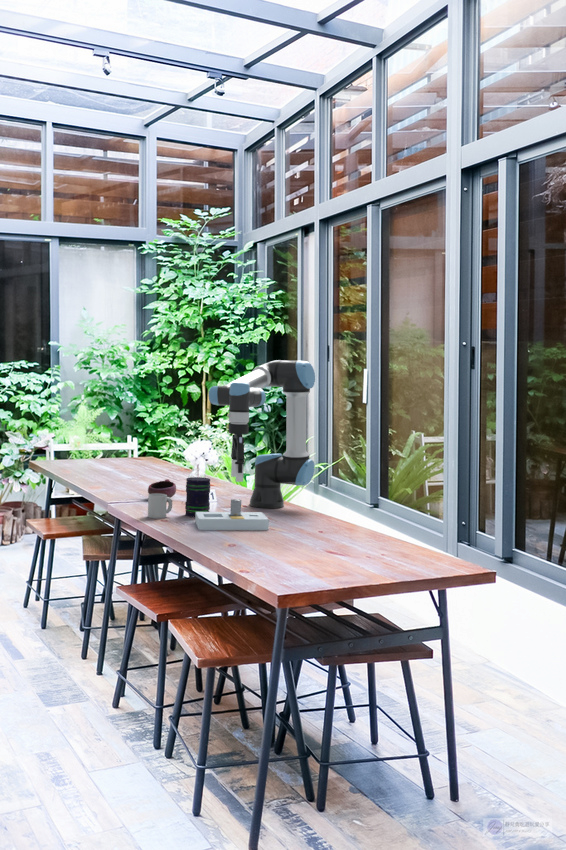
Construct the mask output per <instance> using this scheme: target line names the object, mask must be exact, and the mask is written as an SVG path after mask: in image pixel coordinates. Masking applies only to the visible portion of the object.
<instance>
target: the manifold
mask: <svg viewBox="0 0 566 850" xmlns="http://www.w3.org/2000/svg"><path fill="white" fill-rule="evenodd" d="M194 522H195V525H196V527H197V529H198V530H199V531H269V522H270V519H269V518H268V517H267V516H266V515H265V513H264V512H262V511H255V512H254V511H241V516H230V511H209V512H196V514H195V517H194Z"/></svg>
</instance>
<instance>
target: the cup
mask: <svg viewBox="0 0 566 850" xmlns="http://www.w3.org/2000/svg"><path fill="white" fill-rule="evenodd" d="M167 506H168V507H167ZM172 510H173V500H172V498H169V497H167V495H166V494H157V493H156V494H149V493H148V502H147V517H148V518H149V519H155V520H156V519H157V520H158V519H159V520H161V519H165V518H166V517H167V514H169V513H170V512H172Z"/></svg>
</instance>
